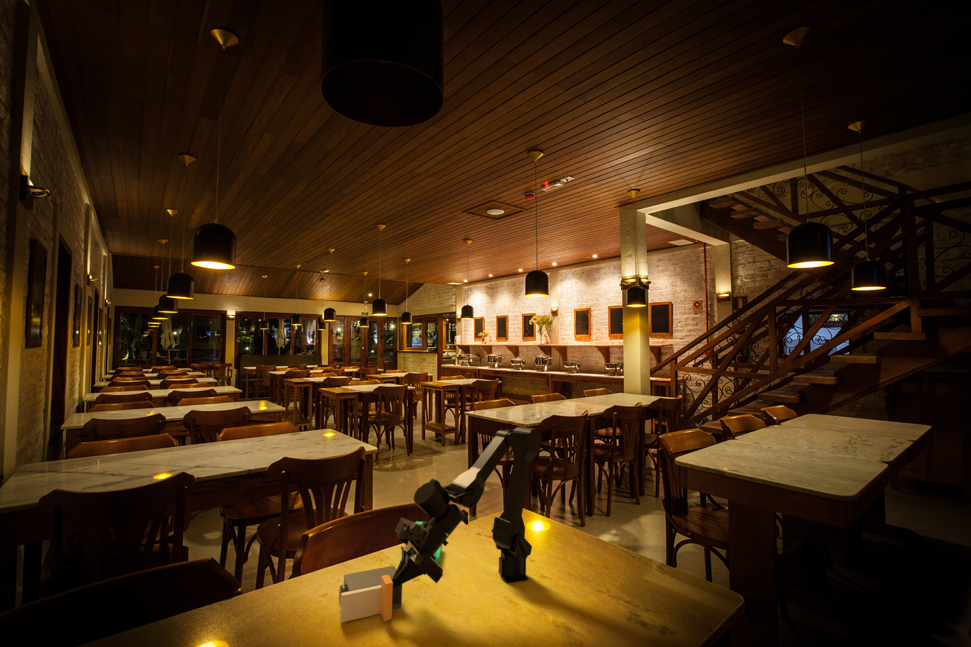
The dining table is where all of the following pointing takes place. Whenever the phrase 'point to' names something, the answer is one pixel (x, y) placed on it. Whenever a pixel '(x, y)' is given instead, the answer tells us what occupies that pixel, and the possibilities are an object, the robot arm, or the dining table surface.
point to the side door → (368, 601)
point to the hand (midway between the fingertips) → (391, 586)
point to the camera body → (371, 583)
